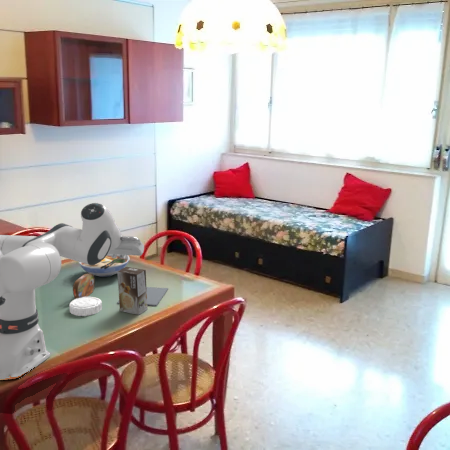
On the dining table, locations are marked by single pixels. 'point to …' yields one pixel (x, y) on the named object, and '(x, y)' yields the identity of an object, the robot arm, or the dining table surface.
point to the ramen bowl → (106, 266)
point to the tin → (84, 286)
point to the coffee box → (132, 290)
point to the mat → (154, 295)
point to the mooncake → (85, 306)
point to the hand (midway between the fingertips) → (119, 256)
